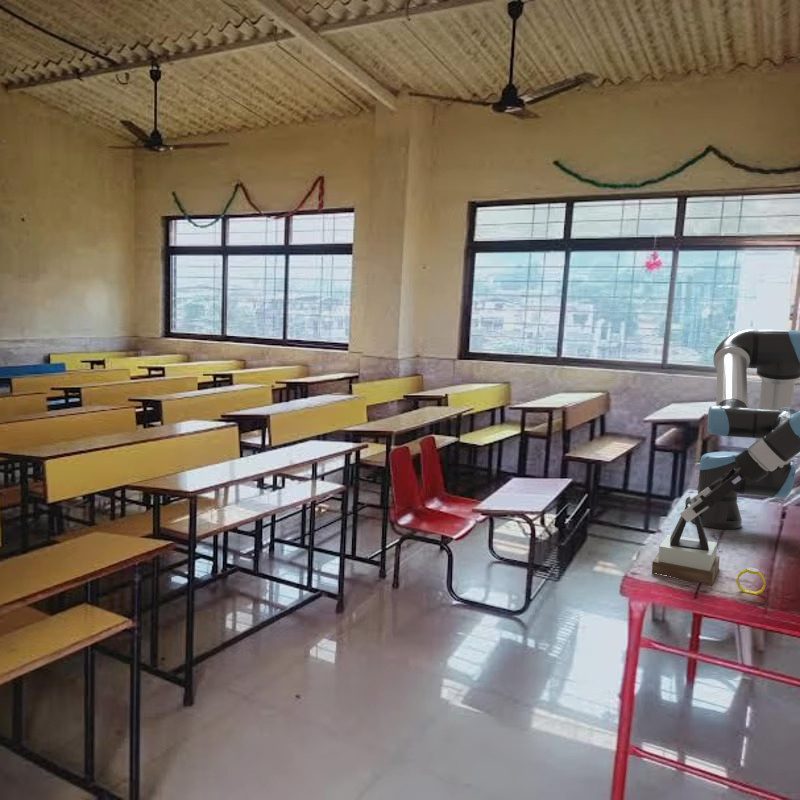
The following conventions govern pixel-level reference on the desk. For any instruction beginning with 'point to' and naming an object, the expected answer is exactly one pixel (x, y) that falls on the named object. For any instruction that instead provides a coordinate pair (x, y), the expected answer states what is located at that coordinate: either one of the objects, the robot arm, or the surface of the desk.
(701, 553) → the upper block
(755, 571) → the watch
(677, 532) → the phone stand
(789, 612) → the desk surface
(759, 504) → the desk surface
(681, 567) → the lower block
